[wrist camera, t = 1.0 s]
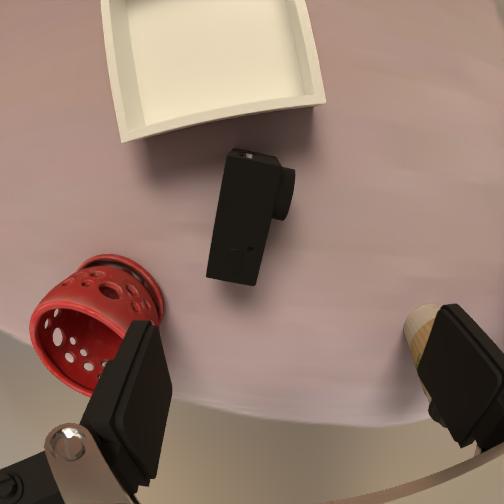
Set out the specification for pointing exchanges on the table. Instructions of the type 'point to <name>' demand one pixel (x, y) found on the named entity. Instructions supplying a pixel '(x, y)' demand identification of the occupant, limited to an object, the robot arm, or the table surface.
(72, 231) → the table surface
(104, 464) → the robot arm
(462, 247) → the table surface
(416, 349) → the coffee cup
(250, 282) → the digital camera
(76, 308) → the plant pot
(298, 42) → the box
